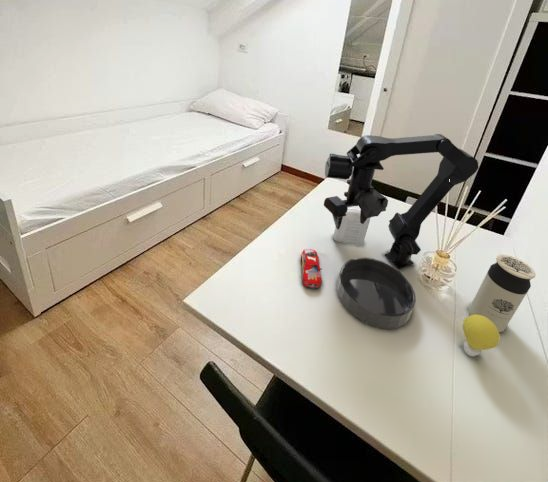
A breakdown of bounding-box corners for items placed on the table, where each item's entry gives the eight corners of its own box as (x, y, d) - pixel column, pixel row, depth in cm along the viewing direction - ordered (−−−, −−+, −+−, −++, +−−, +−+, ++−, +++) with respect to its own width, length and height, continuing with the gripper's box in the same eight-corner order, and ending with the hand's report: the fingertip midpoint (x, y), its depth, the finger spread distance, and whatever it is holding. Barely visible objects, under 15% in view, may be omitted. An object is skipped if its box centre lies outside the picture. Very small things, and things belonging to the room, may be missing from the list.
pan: (375, 262, 90) (378, 251, 89) (427, 314, 75) (432, 302, 73) (323, 278, 82) (326, 266, 81) (369, 340, 67) (374, 327, 65)
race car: (321, 291, 78) (324, 280, 76) (301, 289, 78) (303, 278, 77) (317, 256, 90) (319, 246, 89) (300, 254, 90) (302, 244, 89)
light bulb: (487, 373, 62) (506, 342, 59) (452, 354, 66) (468, 324, 62) (485, 348, 68) (503, 318, 64) (453, 331, 71) (468, 302, 67)
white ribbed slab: (362, 238, 101) (370, 208, 96) (364, 246, 97) (373, 215, 92) (332, 234, 101) (339, 203, 96) (333, 242, 97) (340, 211, 93)
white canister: (470, 300, 81) (496, 248, 73) (505, 318, 76) (536, 265, 69) (466, 318, 75) (494, 265, 68) (503, 339, 70) (537, 284, 63)
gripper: (352, 200, 71) (340, 250, 78) (407, 190, 79) (392, 236, 85) (327, 179, 81) (318, 225, 87) (378, 172, 88) (366, 215, 94)
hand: (349, 225), depth 88 cm, fingers open, 9 cm apart
